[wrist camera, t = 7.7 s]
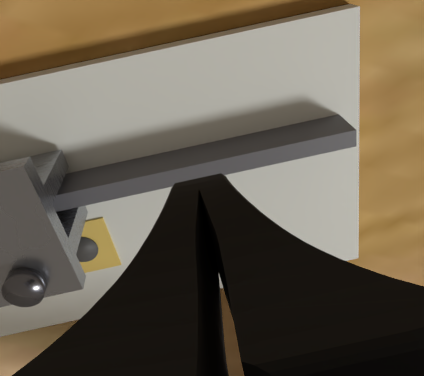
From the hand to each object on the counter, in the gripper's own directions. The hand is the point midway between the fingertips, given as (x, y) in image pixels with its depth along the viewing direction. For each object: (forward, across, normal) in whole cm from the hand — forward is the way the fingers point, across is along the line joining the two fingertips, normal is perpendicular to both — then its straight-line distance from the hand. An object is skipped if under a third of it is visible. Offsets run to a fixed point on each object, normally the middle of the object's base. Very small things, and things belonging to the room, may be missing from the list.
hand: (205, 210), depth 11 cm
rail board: (+10, +3, +4) cm, 11 cm away
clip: (+8, +8, +2) cm, 12 cm away
